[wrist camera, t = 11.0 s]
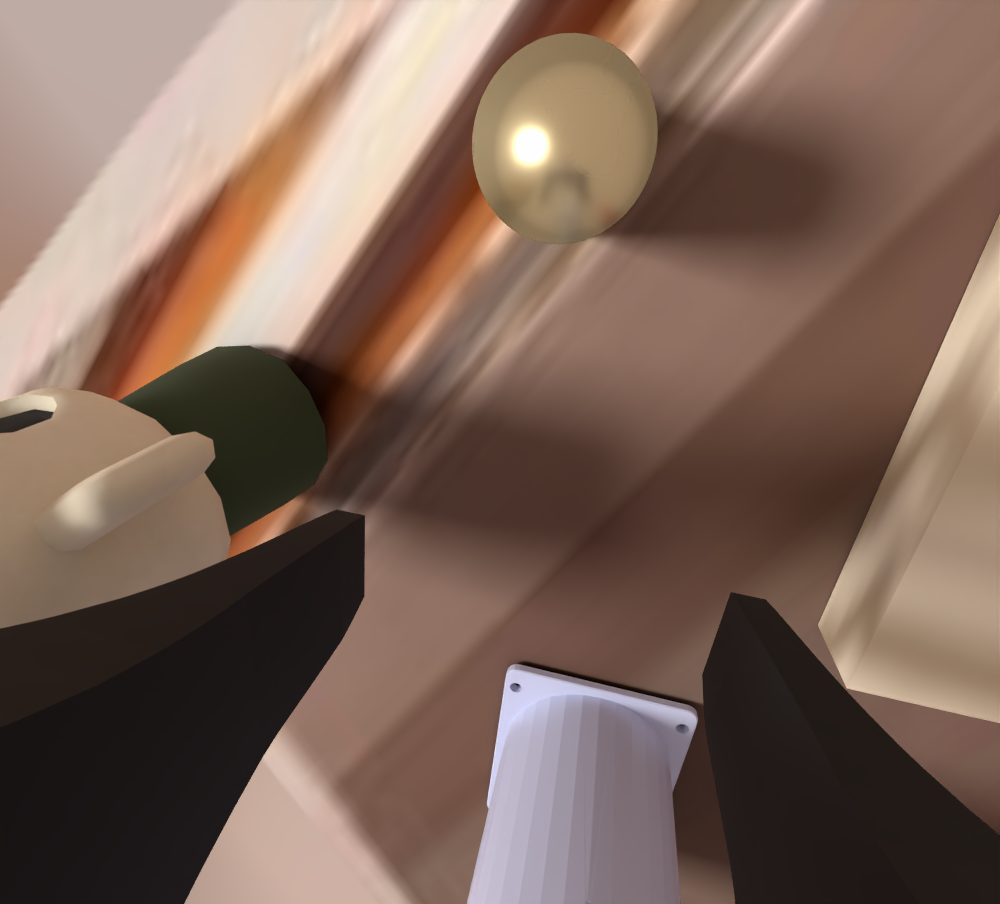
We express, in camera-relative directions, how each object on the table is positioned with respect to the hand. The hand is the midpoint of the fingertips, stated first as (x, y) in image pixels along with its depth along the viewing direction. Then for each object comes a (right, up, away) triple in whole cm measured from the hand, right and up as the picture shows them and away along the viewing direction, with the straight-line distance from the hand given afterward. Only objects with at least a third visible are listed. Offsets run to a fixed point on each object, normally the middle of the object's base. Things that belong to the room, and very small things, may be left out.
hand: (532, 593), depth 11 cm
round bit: (+2, +11, +5) cm, 12 cm away
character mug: (-10, +4, +11) cm, 15 cm away
